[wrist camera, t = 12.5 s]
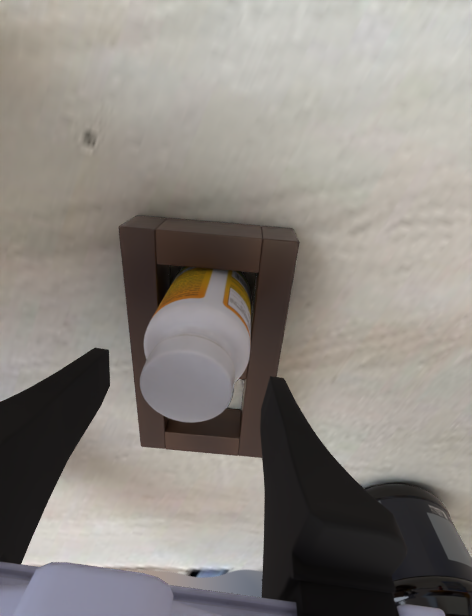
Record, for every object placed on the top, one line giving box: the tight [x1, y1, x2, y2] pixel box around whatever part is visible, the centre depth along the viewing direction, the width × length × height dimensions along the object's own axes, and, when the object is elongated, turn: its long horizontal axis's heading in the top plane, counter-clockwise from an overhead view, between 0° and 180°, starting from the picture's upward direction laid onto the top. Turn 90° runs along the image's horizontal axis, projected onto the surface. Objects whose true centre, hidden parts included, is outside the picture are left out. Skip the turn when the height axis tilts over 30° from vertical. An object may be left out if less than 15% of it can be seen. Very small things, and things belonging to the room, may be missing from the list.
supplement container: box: [365, 484, 472, 616], centre depth 27 cm, size 10×10×12 cm
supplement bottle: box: [140, 267, 251, 422], centre depth 17 cm, size 5×5×10 cm
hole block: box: [119, 215, 299, 458], centre depth 22 cm, size 10×18×3 cm, turn 176°
